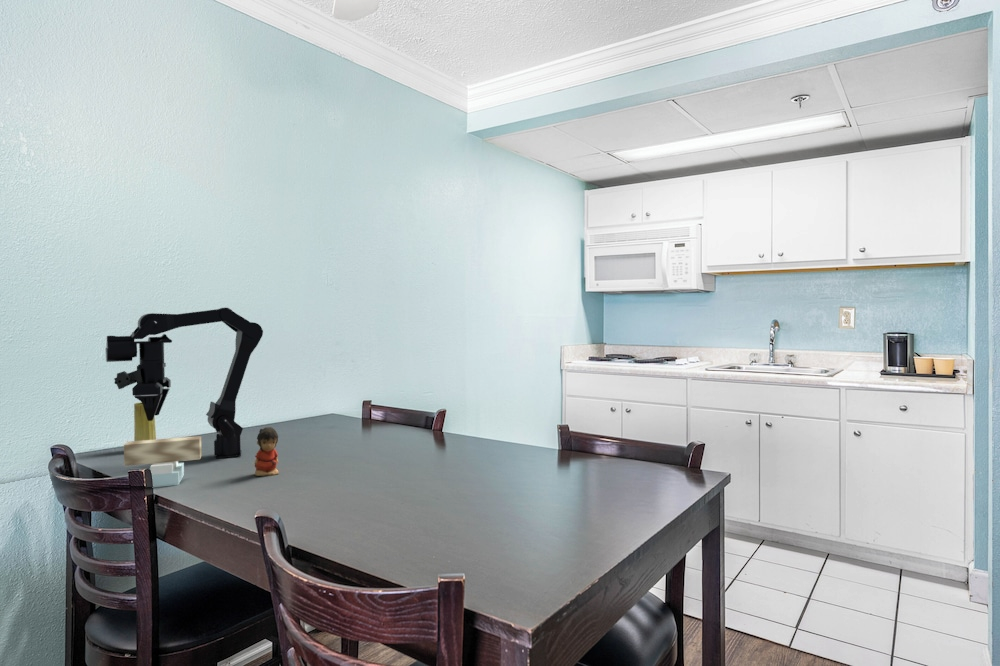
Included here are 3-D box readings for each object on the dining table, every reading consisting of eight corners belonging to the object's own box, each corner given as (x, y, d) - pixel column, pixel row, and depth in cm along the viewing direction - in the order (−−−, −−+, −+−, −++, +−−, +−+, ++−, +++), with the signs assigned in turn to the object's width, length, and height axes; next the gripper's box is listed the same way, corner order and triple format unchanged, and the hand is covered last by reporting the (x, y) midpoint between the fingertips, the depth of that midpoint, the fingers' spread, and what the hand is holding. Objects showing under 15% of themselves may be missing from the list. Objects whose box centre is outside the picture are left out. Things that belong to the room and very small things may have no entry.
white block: (184, 474, 150) (183, 454, 150) (178, 484, 141) (178, 464, 141) (152, 477, 147) (152, 457, 147) (144, 488, 138) (144, 466, 138)
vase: (161, 447, 181) (160, 401, 180) (147, 452, 175) (146, 404, 174) (143, 447, 181) (141, 401, 181) (128, 452, 175) (127, 404, 175)
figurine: (248, 475, 149) (247, 428, 148) (266, 470, 154) (265, 424, 153) (265, 478, 146) (265, 430, 145) (283, 472, 151) (282, 426, 150)
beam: (201, 455, 149) (201, 436, 149) (199, 459, 145) (199, 439, 145) (128, 462, 143) (127, 441, 143) (124, 465, 139) (123, 444, 139)
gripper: (124, 358, 164) (126, 414, 164) (108, 363, 146) (109, 426, 147) (170, 357, 168) (171, 412, 168) (159, 362, 151) (160, 422, 151)
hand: (153, 417), depth 159 cm, fingers open, 9 cm apart
